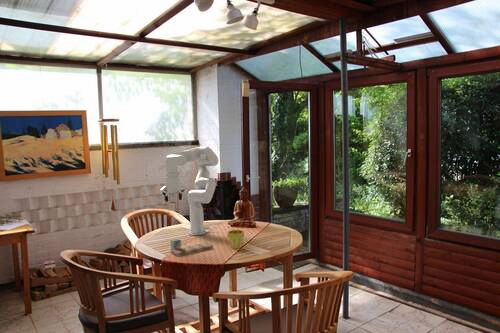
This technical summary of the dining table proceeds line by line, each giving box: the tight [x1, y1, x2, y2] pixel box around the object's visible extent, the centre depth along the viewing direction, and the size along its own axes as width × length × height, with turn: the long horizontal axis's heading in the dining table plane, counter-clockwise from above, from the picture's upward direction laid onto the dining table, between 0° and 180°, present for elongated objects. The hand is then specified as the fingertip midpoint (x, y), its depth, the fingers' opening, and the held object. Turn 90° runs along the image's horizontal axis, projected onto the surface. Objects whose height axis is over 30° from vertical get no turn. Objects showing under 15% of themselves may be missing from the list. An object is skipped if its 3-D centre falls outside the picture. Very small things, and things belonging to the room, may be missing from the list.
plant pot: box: [227, 229, 245, 249], centre depth 254 cm, size 10×10×10 cm
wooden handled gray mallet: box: [170, 238, 186, 251], centre depth 247 cm, size 5×13×7 cm, turn 36°
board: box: [170, 242, 214, 257], centre depth 250 cm, size 24×9×2 cm, turn 126°
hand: (173, 200), depth 267 cm, fingers open, 9 cm apart
